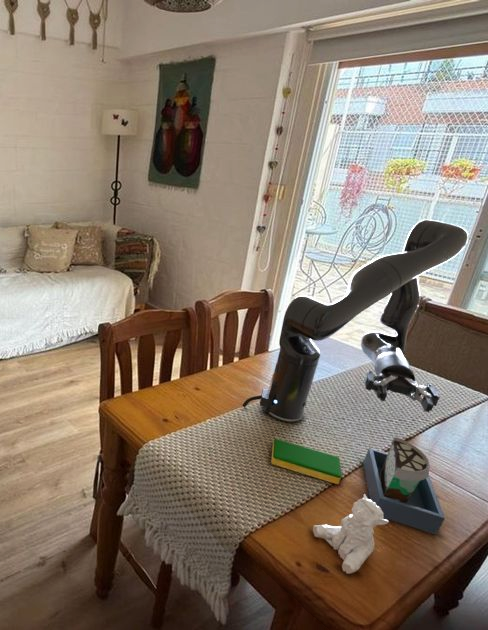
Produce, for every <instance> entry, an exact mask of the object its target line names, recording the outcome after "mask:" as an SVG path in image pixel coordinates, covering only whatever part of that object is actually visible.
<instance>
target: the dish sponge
mask: <svg viewBox="0 0 488 630" xmlns="http://www.w3.org/2000/svg"><path fill="white" fill-rule="evenodd" d="M270 460H271V461H270V462H271V464H272V465H274V466H276V467H281V468H283V469H287V470H290V471H293V472H296V473H299V474H302V475H303V474H304V475H306V476H309V477H313V478H316V479H319V480H323V481H326V482H329V483H332V484H335V485H339V484H340V481H341V478H342V469H341V461H340V457H339V456H337V455H334V454H330V453H326V452H324V451H319V450H316V449H313V448H310V447H306V446H303V445H298V444H295V443H292V442H288V441H286V440H282V439H278V438H274V440H273V443H272V448H271V459H270Z"/></svg>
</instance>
